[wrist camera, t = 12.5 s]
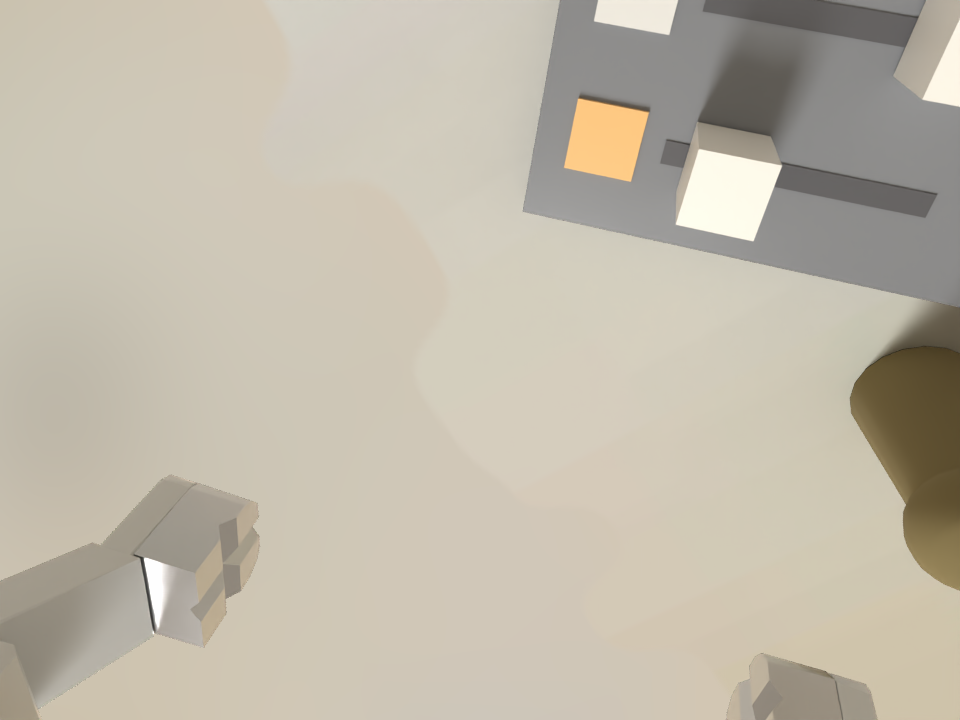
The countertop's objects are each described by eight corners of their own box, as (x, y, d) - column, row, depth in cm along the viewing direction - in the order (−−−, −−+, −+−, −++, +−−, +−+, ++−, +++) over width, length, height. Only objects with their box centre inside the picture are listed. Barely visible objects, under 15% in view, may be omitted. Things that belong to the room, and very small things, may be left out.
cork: (836, 366, 36) (887, 520, 27) (974, 330, 34) (1081, 487, 25) (865, 457, 38) (921, 626, 29) (997, 429, 36) (1102, 607, 27)
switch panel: (1289, -292, 22) (1344, -310, 20) (955, 289, 33) (971, 311, 31) (632, -368, 24) (628, -390, 22) (530, 197, 35) (521, 213, 33)
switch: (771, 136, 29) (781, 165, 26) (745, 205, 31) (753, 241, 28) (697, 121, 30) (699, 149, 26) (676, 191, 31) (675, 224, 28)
